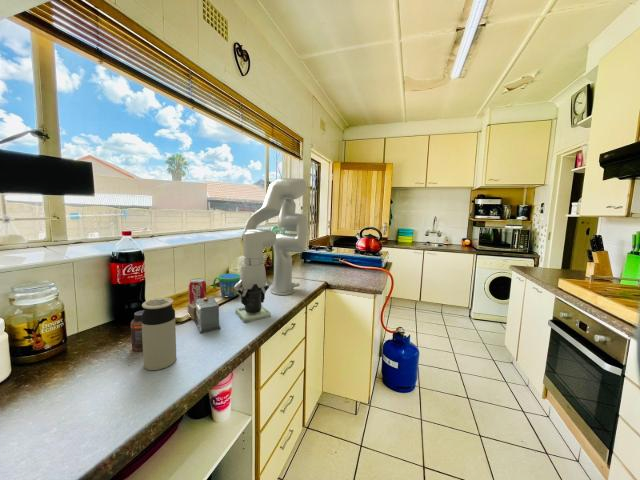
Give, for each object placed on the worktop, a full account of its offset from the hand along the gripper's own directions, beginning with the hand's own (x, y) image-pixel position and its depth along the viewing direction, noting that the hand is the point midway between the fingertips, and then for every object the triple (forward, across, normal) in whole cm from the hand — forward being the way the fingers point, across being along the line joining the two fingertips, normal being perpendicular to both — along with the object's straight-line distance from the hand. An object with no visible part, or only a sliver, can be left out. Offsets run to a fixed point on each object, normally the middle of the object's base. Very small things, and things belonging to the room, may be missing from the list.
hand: (253, 302), depth 108 cm
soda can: (+5, +18, -20) cm, 27 cm away
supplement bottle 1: (+5, +38, +7) cm, 39 cm away
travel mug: (+5, +34, +19) cm, 39 cm away
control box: (+5, +18, +1) cm, 19 cm away
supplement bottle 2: (+4, 0, 0) cm, 4 cm away
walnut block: (+5, +20, -9) cm, 23 cm away
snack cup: (+5, +2, -28) cm, 28 cm away
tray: (+5, 0, 0) cm, 5 cm away
